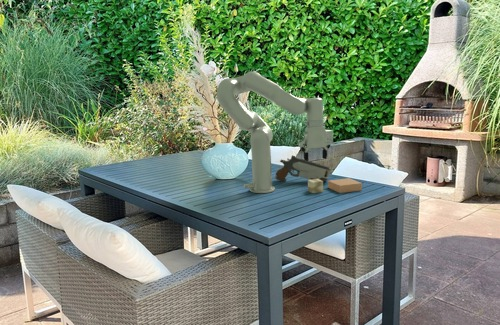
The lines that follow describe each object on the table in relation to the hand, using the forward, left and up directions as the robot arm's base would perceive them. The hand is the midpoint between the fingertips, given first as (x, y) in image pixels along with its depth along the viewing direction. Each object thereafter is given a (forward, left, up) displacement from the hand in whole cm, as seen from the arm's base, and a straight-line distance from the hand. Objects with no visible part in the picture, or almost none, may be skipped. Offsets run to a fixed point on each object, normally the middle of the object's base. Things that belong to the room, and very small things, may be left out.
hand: (315, 159), depth 207 cm
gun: (+3, +22, -16) cm, 28 cm away
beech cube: (0, 0, -16) cm, 16 cm away
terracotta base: (+15, -2, -16) cm, 22 cm away
